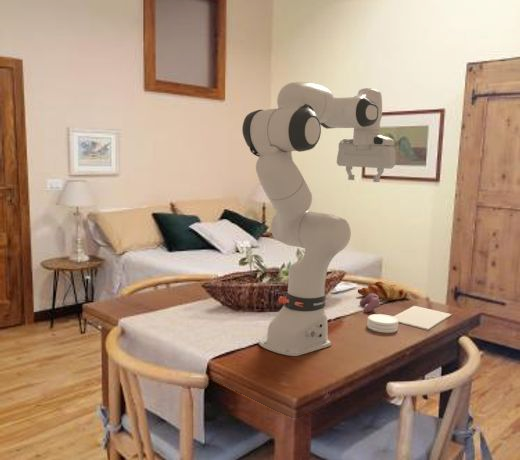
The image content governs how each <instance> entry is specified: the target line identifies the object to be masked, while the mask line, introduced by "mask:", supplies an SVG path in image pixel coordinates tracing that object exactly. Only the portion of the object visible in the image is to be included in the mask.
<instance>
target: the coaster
mask: <svg viewBox="0 0 520 460" xmlns="http://www.w3.org/2000/svg"><path fill="white" fill-rule="evenodd" d="M393 316H394V315H393ZM393 316H392V315H388V314H382V313H375V314H374V313H373V314H370V315H368V316H367V321H366V322H367V323H366V326H367V329H369V330H370V331H373V332H378V333H383V334H391V333H396V332H397V331H398V330H399V323H398V319H397V318H395V317H393Z"/></svg>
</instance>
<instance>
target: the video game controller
mask: <svg viewBox="0 0 520 460" xmlns="http://www.w3.org/2000/svg"><path fill="white" fill-rule="evenodd" d="M380 301H381V300H379V297H378V295H376V294H374V293H373V294H372V293H370V294H369V295H367V296H366V297H365V296H364V297H363V298H362V299H361V300H360V301H359V305H360V306H362V305H363V306H364V308H363V311H364V313H370V312H372V311H374V310H375V309H376V308H378V307H379V306H380Z"/></svg>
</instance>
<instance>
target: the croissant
mask: <svg viewBox="0 0 520 460" xmlns="http://www.w3.org/2000/svg"><path fill="white" fill-rule="evenodd" d="M357 293H358V295H361V296H362V297H364V298H365V297H366V296H367V295H369V294H370V293H372V294H373V293H374V294H376V295H378V297H379V299H383V300H382V301H395V300H397V301H398V300H401V299H408V298H410V297H411V292H408V291H406V289H404V288H400V287H398V286H397V285H394V284H390V285H389V284H388V283H387V282H385V281H375V282H374V283H373V284H370V285H368V286H367V287H362V288H358V289H357Z"/></svg>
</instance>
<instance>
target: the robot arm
mask: <svg viewBox="0 0 520 460" xmlns="http://www.w3.org/2000/svg"><path fill="white" fill-rule="evenodd" d="M276 103H277V108H270V109H257V110H254V111H251V112H250V113H248V114H247V115H246V116H245V117H244V120H243V123H242V137H243V138H244V141H245V144H246V145H247V147H248V148H249V151H250V153H252V155H254V156H256V157H258V159H257V160H256V164H255V171H256V173H257V178H258V180H259V182H260V184H261V187H262V189H263V191H264V193H265V195H266V197H267V198H268V199H269V201H270V203H271V205H272V207H273V209H274V210H275V214H274V215H273V218H272V219H271V223H270V232H271V235H272V237H273V238H274V239H275V240H276V241H277V242H278V241H279V242H280V243H282V244H285V245H287V246H291V247H297V248H302V249H304V254H303V257H302V258H301V259H299V260H297V261H295V262H294V263H292V264H291V266H290V267H289V269H288V281H287V282H288V285H287V291H286V294H285V296H281V295H279V298H278V303H279V304H283V306H282V307H281V309H280V310H279V311H278V313H277V314H276V315H275V316H274V318H272V320H271V321H270V322H269V324H268V327H267V333H266V334H267V335H265V336H264V337H261V339H259V341H258V345H259V346H260V347H262V348H263V349H266V350H268V351H271V352H274V353H277V354H279V355H285V356H290V357H298V356H301V355H305V354H308V353H311V352H315V351H317V350H321V349H325V348H327V347H330V346H331V345H332V344H331V340H329V337H328V336H329V331H328V330H329V329H328V328H329V327H328V316H327V314H326V311H325V307H326V302H327V297H326V293H325V288H326V279H327V272H328V268H329V266H330V263H331V261H332V260H333V258H334V257H335V256H336V255H337V254H338V253H340V252H342V251H343V250H344V249H346V247H347V245H349V242H350V241H351V235H352V232H351V227H350V224H349V222H348V221H347V220H346V219H344V218H342V217H339V216H337V215H334V214H330V213H323V212H315V211H312V210H311V211H310V207H311V205H312V202H313V194H312V192H311V189H310V188H309V185H308V184H307V182H306V180H305V178H304V176H303V174H302V173H301V171H300V169H299V167H298V166H297V165H296V163H295V162H294V160H293V154H292V152H306V151H307V152H308V151H310V150H312V149H314V148H315V147H316V145H317V144H318V142H319V141H320V139H321V134H322V127H323V128H324V129H326V130H327V129H328V130H329V129H353V137H352V138H350V139H346V138H345V139H342V140H340V142H339V143H338V151H337V156H336V165H337V166H339V167H345V171H346V173H347V175H348V176H347V178H348V179H347V180H348V181H354V180H355V174H353V171H352V170H353V168H368V169H369V168H371V169H372V168H373V169H374V168H375V169H376V171H377V174H376V175H375V176H373V177H372V178H373V180H372V181H373V183H380V180H381V179H380V178H381V177H382V175H383V173H384V170H385V169H394V167H395V165H396V151H395V148H394V144H395V140H394V139H392V138H390V137H387V136H385V135H382V134H381V132H382V131H381V130H382V128H381V121H382V117H383V96H382V93H381V91H379V90H377V89H375V88H374V89H373V88H368V87H367V88H361V89H359V90H358V92H357V95H355V96H353V97H351V96H350V97H349V96H348V97H334V95H333V93H332V92H331V91H330V90H329V89H328V88H326V87H325V86H323V85H320V84H316V83H313V82H308V81H307V82H306V81H296V82H295V81H294V82H289V83H287V84H285V85H284V86H283V87H281V89H280V91H279V92H278V95H277V100H276Z"/></svg>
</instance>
